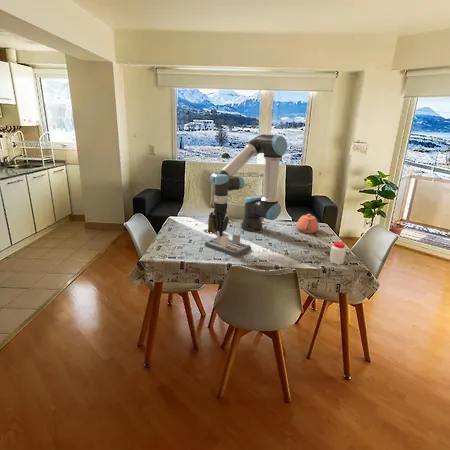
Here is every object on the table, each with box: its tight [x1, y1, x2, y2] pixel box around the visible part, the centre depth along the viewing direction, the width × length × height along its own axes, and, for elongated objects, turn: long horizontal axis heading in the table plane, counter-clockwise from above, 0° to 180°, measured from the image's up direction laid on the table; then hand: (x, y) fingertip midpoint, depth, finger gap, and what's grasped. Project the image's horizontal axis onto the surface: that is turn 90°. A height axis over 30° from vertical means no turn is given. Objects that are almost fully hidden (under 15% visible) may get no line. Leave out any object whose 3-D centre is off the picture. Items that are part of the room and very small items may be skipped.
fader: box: [220, 234, 229, 248], centre depth 173 cm, size 4×3×6 cm
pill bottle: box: [328, 241, 347, 263], centre depth 163 cm, size 8×8×11 cm
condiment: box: [203, 213, 216, 234], centre depth 202 cm, size 7×8×12 cm
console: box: [204, 232, 252, 258], centre depth 176 cm, size 24×14×8 cm, turn 52°
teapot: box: [295, 213, 320, 234], centre depth 211 cm, size 22×16×12 cm
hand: (219, 241), depth 175 cm, fingers closed
